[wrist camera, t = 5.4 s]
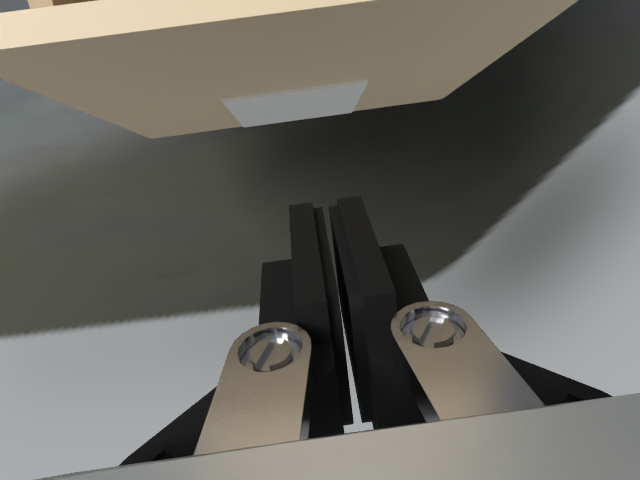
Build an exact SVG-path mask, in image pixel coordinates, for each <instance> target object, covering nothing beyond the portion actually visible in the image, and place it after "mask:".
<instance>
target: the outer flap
mask: <svg viewBox="0 0 640 480" xmlns="http://www.w3.org/2000/svg"><path fill="white" fill-rule="evenodd" d="M577 1H578V0H96V1H89V2H81V3H73V4H65V5H58V6H50V7H42V8H35V9H27V10H19V11H11V12H4V13H0V79H2V80H5V81H7V82H10V83H12V84H15V85H17V86H20V87H22V88H25V89H27V90H30V91H32V92H35V93H37V94H40V95H42V96H45V97H47V98H50V99H52V100H55V101H57V102H60V103H62V104H65V105H67V106H70V107H72V108H75V109H77V110H80V111H83V112H85V113H88V114H90V115H93V116H95V117H98V118H100V119H103V120H105V121H108V122H110V123H113V124H115V125H118V126H120V127H123V128H125V129H128V130H130V131H133V132H135V133H138V134H140V135H143V136H145V137H148V138H150V139H153V138H160V137H168V136H175V135H182V134H190V133H197V132H204V131H212V130H219V129H227V128H234V127H241V126H243V128H244V127H251V126H258V125H266V124H273V123H280V122H288V121H295V120H303V119H310V118H317V117H325V116H332V115H339V114H347V113H352V111H359V110H366V109H374V108H381V107H389V106H396V105H403V104H411V103H418V102H425V101H433V100H440V99H443V98H444V97H446V96H447V95H449V94H450V93H451V92H453V91H454V90H455V89H457V88H458V87H460V86H461V85H462V84H464V83H465V82H467V81H468V80H469V79H471V78H472V77H473V76H475V75H476V74H478V73H479V72H480V71H482V70H483V69H484V68H486V67H487V66H489V65H490V64H491V63H493V62H494V61H496V60H497V59H498V58H500V57H501V56H502V55H504V54H505V53H507V52H508V51H509V50H511V49H512V48H513V47H515V46H516V45H518V44H519V43H520V42H522V41H523V40H525V39H526V38H527V37H529V36H530V35H531V34H533V33H534V32H536V31H537V30H538V29H540V28H541V27H542V26H544V25H545V24H547V23H548V22H549V21H551V20H552V19H554V18H555V17H556V16H558V15H559V14H560V13H562V12H563V11H565V10H566V9H567V8H569V7H570V6H571V5H573V4H574V3H576V2H577Z"/></svg>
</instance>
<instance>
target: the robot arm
mask: <svg viewBox="0 0 640 480" xmlns="http://www.w3.org/2000/svg"><path fill="white" fill-rule="evenodd" d="M289 211H290V232H291V253H292V259H288V260H281V261H274V262H266V263H263V264H262V277H261V296H260V314H259V326H256V327H253V328H251V329H249V330H248V331H246V332H244V333H243V334H241V336H239V337H238V338H237V339H236V340H235V341H234V343H233V345H232V346H231V348H230V350H229V353H228V356H227V359H226V362H225V365H224V367H223V370H222V374H221V376H220V379H219V382H218V385H217V387H215V388H214V389H213V390H212V391H210V392H209V393H208V394H207V395H206V396H204V397H203V398H202V399H200V400H199V401H198V402H197V403H195V404H194V405H193V406H191V407H190V408H189V409H188V410H187V411H185V412H184V413H183V414H182V415H180V416H179V417H178V418H176V419H175V420H174V421H173V422H171V423H170V424H169V425H167V426H166V427H165V428H164V429H162V430H161V431H160V432H159V433H157V434H156V435H155V436H154V437H152V438H151V439H150V440H149V441H147V442H146V443H145V444H144V445H142V446H141V447H140V448H138V449H137V450H136V451H135V452H134V453H132V454H131V455H130V456H128V457H127V458H126V459H125V460H124V461H123V462H122V463H121V464H120V465H119V466H117V467H110V468H103V469H96V470H90V471H83V472H75V473H69V474H63V475H58V476H52V477H47V478H41V479H35V480H640V393H637V394H631V395H622V396H615V397H613V396H611V395H609V394H607V393H605V392H603V391H601V390H598V389H596V388H593V387H590V386H588V385H585V384H583V383H580V382H577V381H575V380H572V379H570V378H567V377H565V376H562V375H559V374H557V373H554V372H552V371H549V370H547V369H544V368H541V367H539V366H536V365H534V364H531V363H528V362H526V361H523V360H521V359H518V358H515V357H513V356H511V355H508V354H505V353H503V352H500V351H499V349H498V348H497V347H496V346H495V345H494V343H493V342H492V341H491V340H490V339H489V337H488V336H487V335H486V334H485V333H484V331H483V330H482V329H481V328H480V327H479V325H478V324H477V323H476V322H475V321H474V319H473V318H472V317H471V316H470V315H469V314H468V313H466V312H465V311H464V310H463V309H461V308H459V307H457V306H455V305H451V304H448V303H444V302H435V301H429V300H428V298H427V295H426V293H425V291H424V289H423V287H422V284H421V282H420V280H419V278H418V276H417V274H416V271H415V269H414V267H413V265H412V263H411V260H410V258H409V256H408V254H407V252H406V250H405V247H404V246H403V244H399V245H391V246H384V247H379V245H378V242H377V239H376V237H375V234H374V231H373V229H372V226H371V223H370V220H369V218H368V215H367V212H366V209H365V207H364V204H363V201H362V199H361V196H356V197H349V198H342V199H337V205H335V206H329V211H330V220H331V228H332V237H333V246H334V254H335V263H336V272H337V281H338V289H339V297H338V291H337V285H336V280H335V275H334V269H333V264H332V258H331V253H330V248H329V242H328V237H327V232H326V226H325V221H324V216H323V210H322V207H320V208H313V206H312V203H305V204H297V205H290V206H289ZM339 298H340V303H339ZM340 306H341V311H340ZM341 312H342V318H343V323H344V329H345V334H346V340H347V344H348V350H349V356H350V361H351V366H352V371H353V376H354V382H355V387H356V393H357V399H358V404H359V409H360V414H361V420H362V423H364V422H371V421H372V424H373V428H374V430H367V431H359V432H353V433H345V434H344V428H343V425H350V424H353V414H352V406H351V398H350V397H351V396H350V388H349V379H348V370H347V362H346V353H345V345H344V336H343V327H342V319H341Z"/></svg>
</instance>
